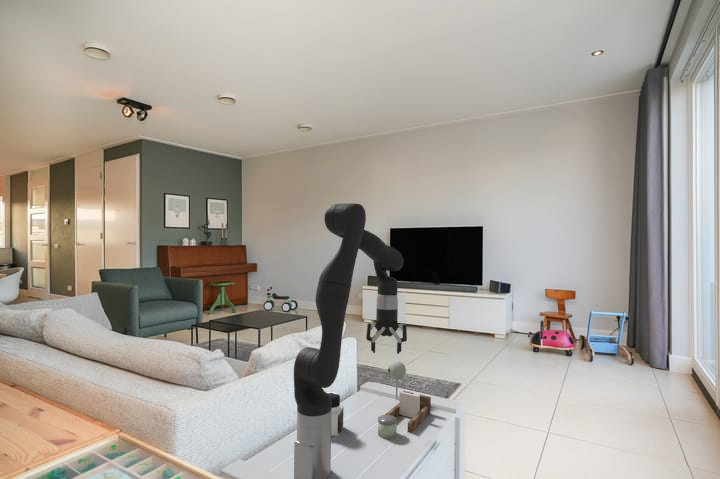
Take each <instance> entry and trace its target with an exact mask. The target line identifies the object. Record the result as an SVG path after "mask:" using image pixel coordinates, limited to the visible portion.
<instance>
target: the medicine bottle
mask: <svg viewBox="0 0 720 479" xmlns="http://www.w3.org/2000/svg"><path fill="white" fill-rule="evenodd" d="M326 393H327V394H328V395H329V396H330V398H331V401H332V414H331V437H337V438H339V435H340V434H341V432H342V430H343V428H344V406H343V405H341V395H340V394H338V393H337V392H334V391H332V392H331V391H328V392H326Z"/></svg>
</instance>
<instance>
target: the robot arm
mask: <svg viewBox="0 0 720 479" xmlns="http://www.w3.org/2000/svg"><path fill="white" fill-rule="evenodd" d="M366 215H367V214H366V209H365V207H364V206H363V205H362V204H361V203H333V204H331V205H330V206H328V207H327V209H326V210H325V212H324V219H323V220H324V224H325V227H326V229H327V230H328V231H329V232H330V233H331V234H333V235H335V236H336V237H339V238H341V239H342V240H341V243H340V246H339V248H338V250H337V252H336V253H335V254H334V256H333V257H332V258H331V259H330V260H329V262H328V263H327V264H326V266H325V267H324V268H323V270H322V271H321V273H320V275H319V279H318V282H317V283H318V284H317V287H316V292H315V306H316V310H317V314H318V318H319V321H320V324H321V340H320V346H319V348H316V347H310V346H309V347H304V348H302V349H301V350H300V351H299V352H298V353H297V355H296V357H295V360H294V363H293V364H294V365H293V386H294V387H293V390H294V392H293V394H294V401H295V403H296V405H297V406H296V408H297V409H296V410H297V411H296V415H297V416H296V440H295V441H294V443H293V444H294V445H293V446H294V447H293V453H294V454H293V456H294V457H293V461H294V462H293V478H294V479H328V478H329V477H330V476H331V472H332V470H331V469H332V468H331V464H332V463H331V462H332V457H331V456H332V436H331V414H332V401H331V398H330V396H329V395H328V394H327V393H328V392H326V391H325V390H324V389H327V388H329V387H331V386H332V385H333V384H334V382H335V381H336V378H337V376H338V372H339V369H340V368H339V367H340V361H341V350H342V341H343V330H344V324H345V318H346V313H347V307H348V304H349V300H350V292H351V288H352V282H353V281H352V280H353V276H354V271H355V264H356V262H357V261H356V260H357V257H358V253H359V250H360V251H362V252H363V254H365V255H366V256H367V257H368V258H370V259H371V260H372V262H373V267H374V272H375V275H376V279H377V280H376V281H377V298H376V305H375V306H376V314H375V315H376V319H375V320H376V321H375V323H372V322H367V325H366V326H367V327H366V334H365V336H366V341H368V342H370V351H371V352H372V353H373V354H375V353H376V341H377V340H378V338H379V337H380V336H382V337H394V338H395V340H396V354H400V353H401V352H402V343H404V342H405V343H406V342H407V340H408V338H407V337H408V334H407V333H408V332H407V331H408V329H407V324H406V323H405V322H404V323H401V324H399V323H398V316H399V315H398V314H399V313H398V310H399V307H398V306H399V305H398V304H399V298H398V286H399V285H398V284H399V282H398V280H397V278H394V277H391V276H389V275H388V272H398V271H400V270H401V269H402V267H403V265H404V258H403V255H402V253H401V252H400V251H398V250H397V249H396V248H394V247H393V246H390V245H387V244H386V243H385V242H384V241H383V240H382V239H381V238H380V237H379V236H377V235H376V234H374V233H372V231H369V230H366V228H365V226H366V219H367V216H366ZM374 328H375V329H376V332H375V333H374V334H373V336H372V337H371V331H372V330H373V329H374ZM398 329H400V330H401V331H402V337H400V336H399V335H398V333H397V330H398Z"/></svg>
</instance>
